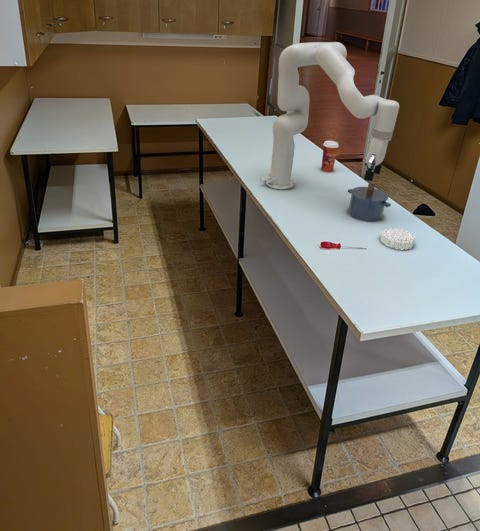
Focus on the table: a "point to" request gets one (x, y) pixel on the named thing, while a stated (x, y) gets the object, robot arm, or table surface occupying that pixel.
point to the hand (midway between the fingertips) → (371, 176)
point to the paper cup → (329, 155)
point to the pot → (366, 209)
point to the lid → (369, 193)
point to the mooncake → (397, 238)
